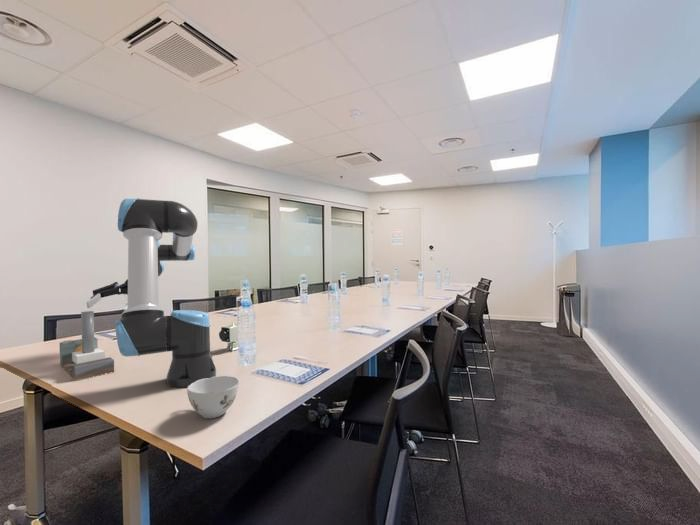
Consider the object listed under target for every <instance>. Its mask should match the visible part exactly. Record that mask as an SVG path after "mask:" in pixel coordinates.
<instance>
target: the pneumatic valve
mask: <svg viewBox="0 0 700 525" xmlns="http://www.w3.org/2000/svg"><path fill="white" fill-rule="evenodd" d="M238 324H239V323H234V322H232V323H231V324H230V325H226V326H221V328H220V331H219V333H218V336H219V339H220V340H221V342H225V343H227V346H226V350H227V351H231V352H235V351H237V349H238V342H239V340H238ZM238 350H239V349H238Z"/></svg>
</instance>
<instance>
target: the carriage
mask: <svg viewBox="0 0 700 525" xmlns="http://www.w3.org/2000/svg"><path fill="white" fill-rule="evenodd" d="M94 313H95V312H94V311H93V310H87V311H81V312H80V314H81V316H80V318H81V321H80V322H81V323H80V324H81V327H80V328H81V339H82V351H78V352H73V353H72V361H73V362H74V363H76V364H79V363H84V362H89V361H94V360H99V359H104V358H106V357H105V356H106V354H105V351H104V350H103V349H102V348H100V347H98V348H95V349H94V337H95V319H94V318H95V316H94V315H95V314H94Z"/></svg>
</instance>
